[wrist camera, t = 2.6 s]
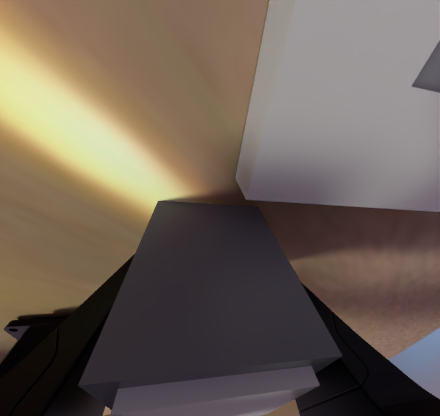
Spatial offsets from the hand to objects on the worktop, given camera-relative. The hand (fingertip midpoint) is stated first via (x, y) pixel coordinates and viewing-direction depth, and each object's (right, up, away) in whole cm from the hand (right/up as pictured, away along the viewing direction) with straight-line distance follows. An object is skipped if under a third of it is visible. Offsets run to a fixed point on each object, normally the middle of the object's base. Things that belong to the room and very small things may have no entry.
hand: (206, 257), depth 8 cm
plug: (0, +1, +1) cm, 1 cm away
